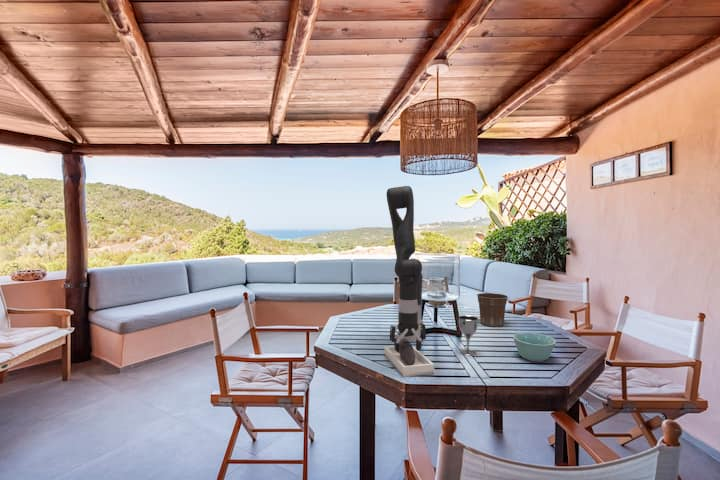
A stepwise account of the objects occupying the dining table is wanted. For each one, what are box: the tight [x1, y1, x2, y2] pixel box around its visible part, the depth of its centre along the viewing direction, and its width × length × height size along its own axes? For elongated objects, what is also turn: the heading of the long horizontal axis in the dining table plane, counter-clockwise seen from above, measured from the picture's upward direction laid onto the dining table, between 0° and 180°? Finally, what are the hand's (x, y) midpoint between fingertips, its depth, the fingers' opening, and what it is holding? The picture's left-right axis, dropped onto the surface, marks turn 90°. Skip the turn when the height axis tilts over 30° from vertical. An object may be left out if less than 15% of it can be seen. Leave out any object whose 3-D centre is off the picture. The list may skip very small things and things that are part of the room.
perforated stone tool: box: [399, 339, 415, 366], centre depth 137 cm, size 15×5×7 cm, turn 5°
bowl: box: [512, 332, 557, 363], centre depth 144 cm, size 16×16×8 cm
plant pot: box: [476, 292, 509, 328], centre depth 195 cm, size 16×16×16 cm
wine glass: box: [458, 315, 479, 356], centre depth 150 cm, size 8×8×15 cm
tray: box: [384, 345, 435, 378], centre depth 137 cm, size 12×22×4 cm, turn 14°
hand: (407, 351), depth 137 cm, fingers open, 8 cm apart
